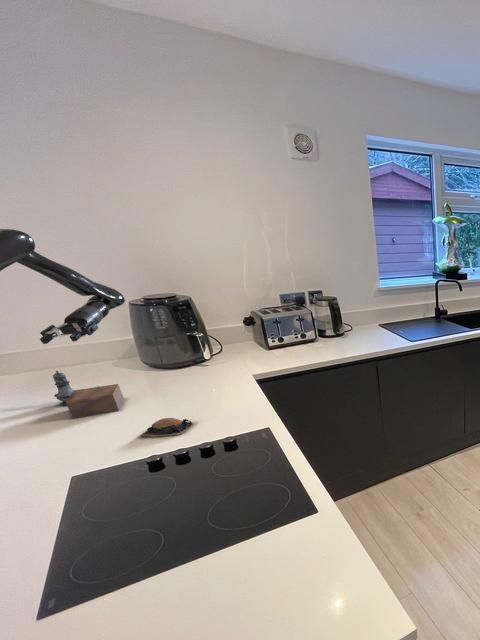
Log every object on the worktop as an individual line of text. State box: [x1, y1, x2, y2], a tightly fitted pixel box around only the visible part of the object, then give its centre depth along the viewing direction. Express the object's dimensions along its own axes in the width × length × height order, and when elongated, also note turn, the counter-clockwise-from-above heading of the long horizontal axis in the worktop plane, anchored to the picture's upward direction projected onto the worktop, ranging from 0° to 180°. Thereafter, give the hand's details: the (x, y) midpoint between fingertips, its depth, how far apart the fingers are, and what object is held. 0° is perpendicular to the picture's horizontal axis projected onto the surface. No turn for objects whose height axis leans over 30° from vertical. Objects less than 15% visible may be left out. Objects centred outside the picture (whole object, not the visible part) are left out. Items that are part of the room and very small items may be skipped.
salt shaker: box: [52, 370, 75, 407], centre depth 136 cm, size 6×6×12 cm
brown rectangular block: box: [66, 383, 125, 420], centre depth 134 cm, size 11×11×6 cm
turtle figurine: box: [141, 417, 194, 438], centre depth 122 cm, size 11×8×4 cm
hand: (57, 340), depth 139 cm, fingers open, 8 cm apart
